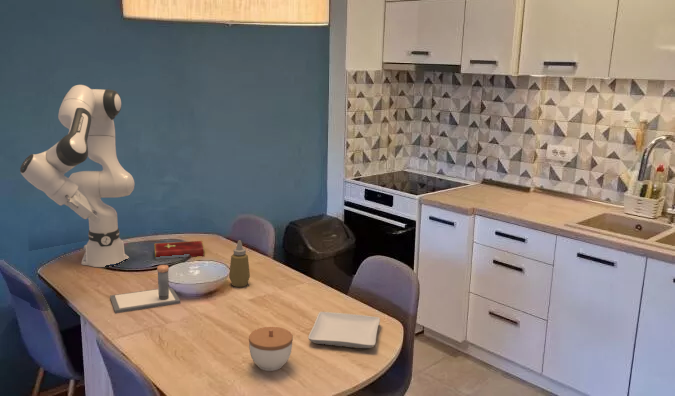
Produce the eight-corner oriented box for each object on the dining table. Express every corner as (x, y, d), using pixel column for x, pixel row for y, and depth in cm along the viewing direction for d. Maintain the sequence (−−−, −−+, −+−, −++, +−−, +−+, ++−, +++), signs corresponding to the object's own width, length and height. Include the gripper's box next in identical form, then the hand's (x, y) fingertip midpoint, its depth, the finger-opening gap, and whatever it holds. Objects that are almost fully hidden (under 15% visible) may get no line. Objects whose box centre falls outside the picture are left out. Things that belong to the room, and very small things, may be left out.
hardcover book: (204, 257, 261) (204, 248, 260) (155, 260, 255) (154, 251, 254) (202, 248, 272) (202, 240, 271) (154, 251, 266) (154, 242, 265)
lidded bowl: (293, 354, 179) (293, 320, 176) (291, 376, 167) (291, 340, 164) (251, 353, 178) (251, 320, 176) (246, 375, 166) (246, 339, 164)
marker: (157, 296, 213) (156, 265, 211) (168, 295, 215) (167, 264, 212) (159, 300, 210) (158, 269, 207) (170, 299, 212) (169, 267, 209)
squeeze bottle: (248, 289, 227) (248, 244, 223) (227, 288, 227) (226, 243, 223) (251, 281, 235) (251, 238, 230) (231, 280, 235) (231, 237, 231)
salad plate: (318, 319, 204) (319, 310, 203) (380, 325, 201) (380, 316, 201) (306, 348, 184) (307, 338, 183) (374, 355, 181) (375, 345, 180)
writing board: (110, 298, 214) (110, 295, 213) (171, 289, 224) (171, 286, 223) (115, 313, 202) (115, 310, 201) (180, 303, 212) (180, 300, 211)
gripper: (74, 192, 194) (107, 218, 201) (69, 180, 211) (100, 204, 218) (60, 206, 193) (94, 232, 200) (57, 193, 211) (88, 217, 217)
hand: (97, 217), depth 209 cm, fingers open, 8 cm apart
